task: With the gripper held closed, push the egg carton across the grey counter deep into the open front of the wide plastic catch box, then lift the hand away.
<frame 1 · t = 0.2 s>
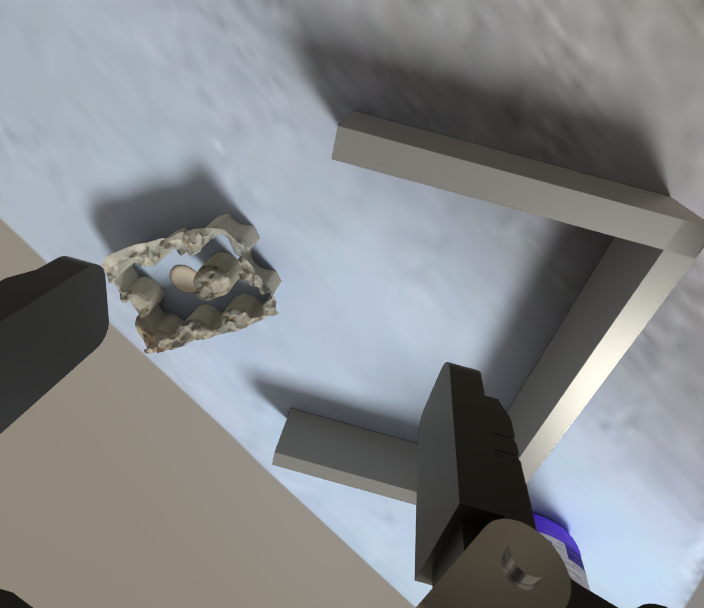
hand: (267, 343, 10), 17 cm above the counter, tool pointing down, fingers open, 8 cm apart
egg carton: (206, 268, 31), on the counter
bottle: (532, 528, 40), on the counter
catch box: (425, 331, 30), on the counter
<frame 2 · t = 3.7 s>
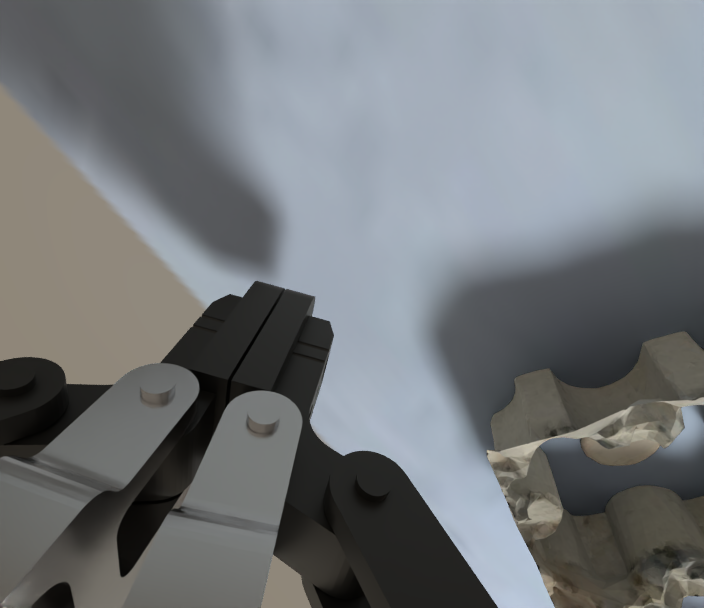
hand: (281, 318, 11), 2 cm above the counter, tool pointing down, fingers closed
egg carton: (674, 411, 13), on the counter
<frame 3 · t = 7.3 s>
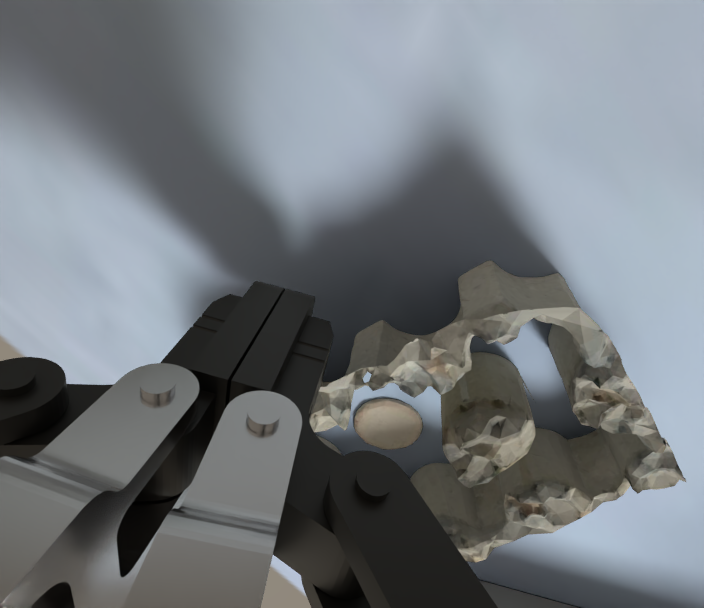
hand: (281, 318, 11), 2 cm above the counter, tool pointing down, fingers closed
egg carton: (428, 392, 14), on the counter, touching gripper
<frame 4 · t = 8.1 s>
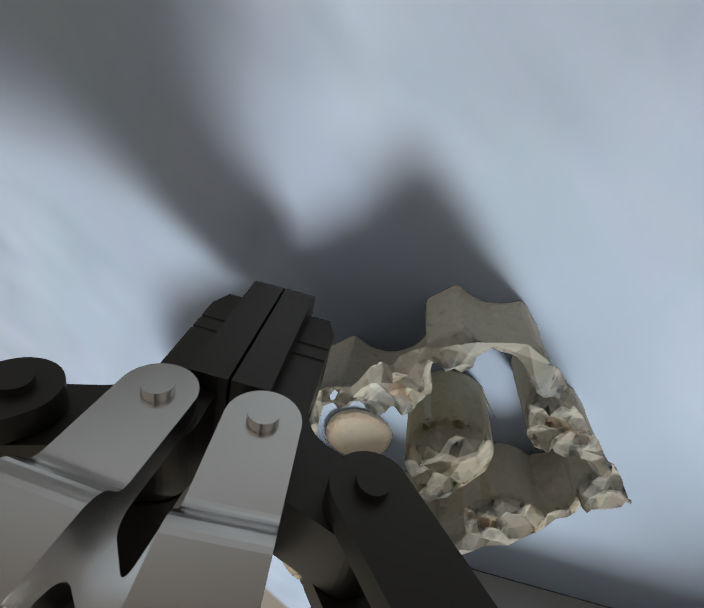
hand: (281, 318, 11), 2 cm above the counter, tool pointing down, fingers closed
egg carton: (398, 405, 15), on the counter, touching gripper
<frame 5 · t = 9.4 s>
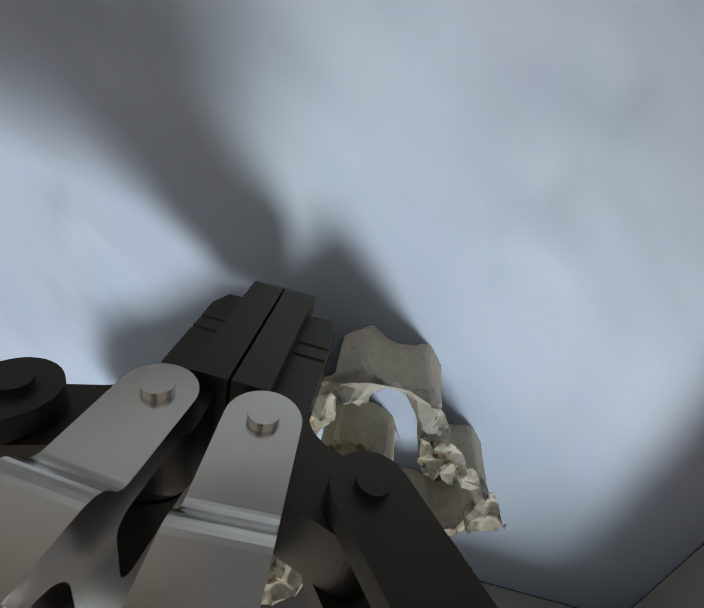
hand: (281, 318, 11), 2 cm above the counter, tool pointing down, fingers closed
egg carton: (319, 421, 16), on the counter
catch box: (545, 362, 12), on the counter
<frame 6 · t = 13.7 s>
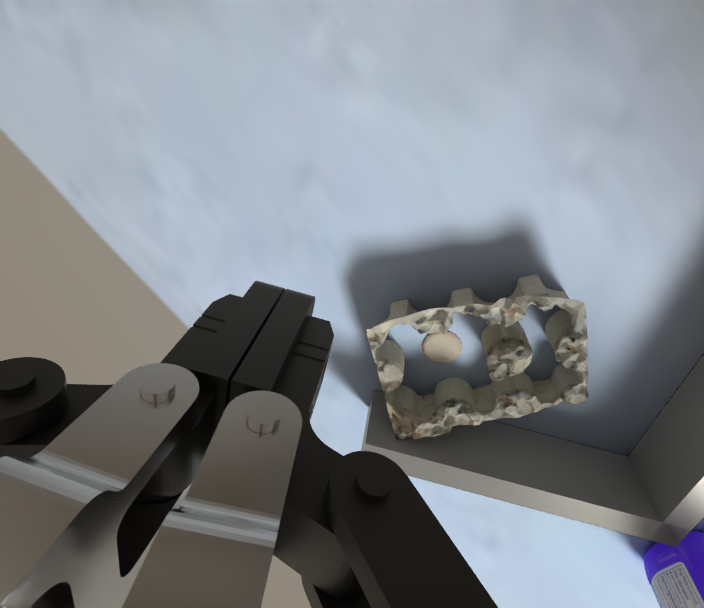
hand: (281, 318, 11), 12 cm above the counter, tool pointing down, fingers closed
egg carton: (470, 334, 25), on the counter
bottle: (690, 553, 30), on the counter
catch box: (579, 263, 22), on the counter
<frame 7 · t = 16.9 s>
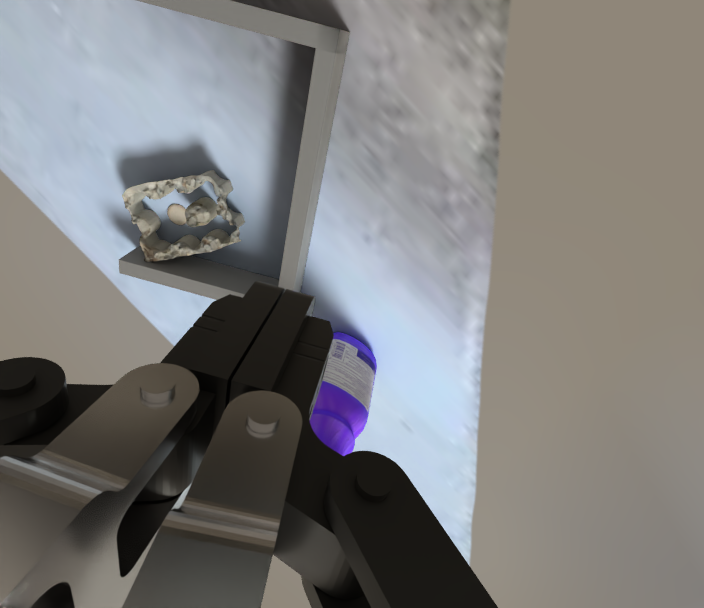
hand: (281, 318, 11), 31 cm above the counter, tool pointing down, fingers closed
egg carton: (193, 208, 44), on the counter
bottle: (346, 351, 50), on the counter
catch box: (223, 159, 41), on the counter
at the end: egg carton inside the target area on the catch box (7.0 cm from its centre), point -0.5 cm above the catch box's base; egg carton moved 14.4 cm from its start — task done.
